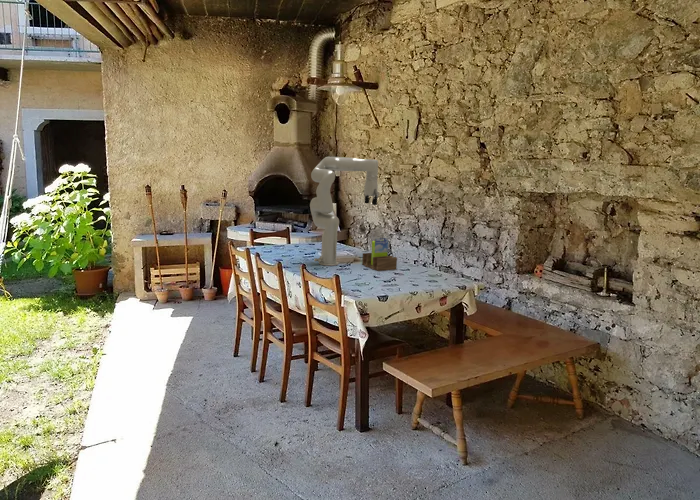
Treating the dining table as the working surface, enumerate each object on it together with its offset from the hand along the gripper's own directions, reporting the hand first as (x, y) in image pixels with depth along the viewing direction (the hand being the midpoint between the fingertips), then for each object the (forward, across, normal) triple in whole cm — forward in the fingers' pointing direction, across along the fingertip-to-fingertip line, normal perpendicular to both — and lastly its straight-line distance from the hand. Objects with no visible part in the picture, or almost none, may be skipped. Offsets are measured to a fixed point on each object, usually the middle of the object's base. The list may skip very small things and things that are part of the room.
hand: (370, 204), depth 375 cm
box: (+35, +29, -10) cm, 46 cm away
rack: (+36, +29, -10) cm, 47 cm away
